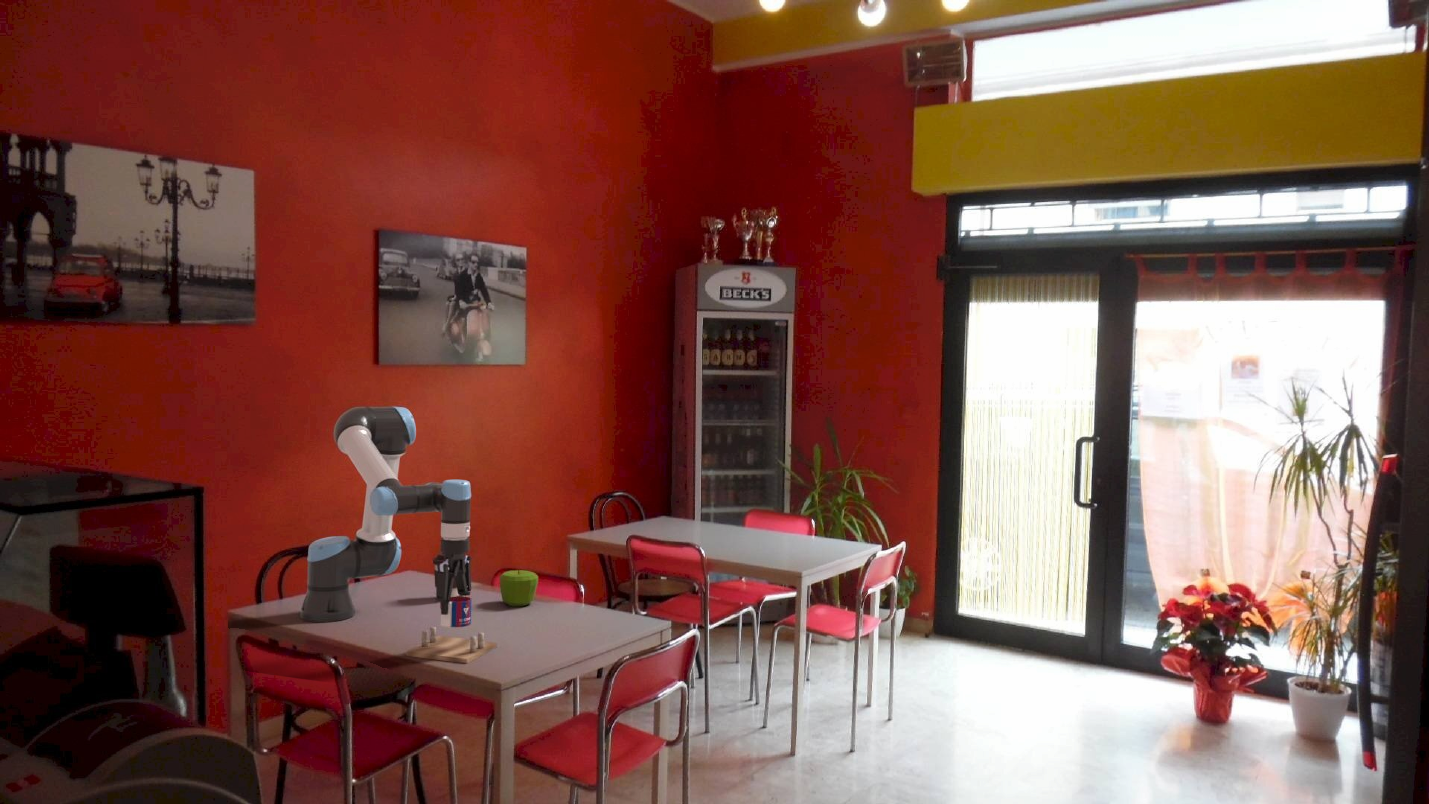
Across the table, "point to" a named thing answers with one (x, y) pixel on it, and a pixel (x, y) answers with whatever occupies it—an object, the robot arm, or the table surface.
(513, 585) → the apple
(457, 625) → the cup
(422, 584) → the table surface
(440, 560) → the coffee cup
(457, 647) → the wooden peg board
